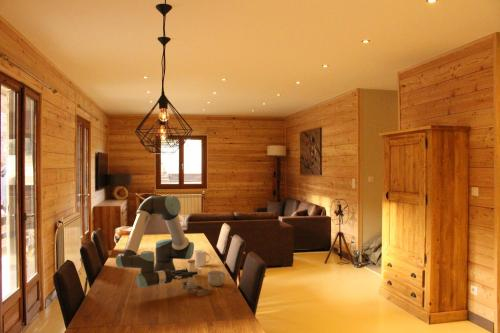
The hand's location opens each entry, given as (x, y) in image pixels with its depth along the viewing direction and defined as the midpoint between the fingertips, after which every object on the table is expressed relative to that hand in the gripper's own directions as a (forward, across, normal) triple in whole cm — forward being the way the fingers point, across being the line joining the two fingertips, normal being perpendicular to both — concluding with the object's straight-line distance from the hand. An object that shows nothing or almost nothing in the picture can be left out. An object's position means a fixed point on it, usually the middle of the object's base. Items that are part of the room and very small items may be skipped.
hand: (199, 271), depth 257 cm
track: (-5, +6, -10) cm, 13 cm away
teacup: (+11, +3, -10) cm, 15 cm away
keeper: (-5, 0, -9) cm, 10 cm away
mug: (+30, -50, -10) cm, 59 cm away
